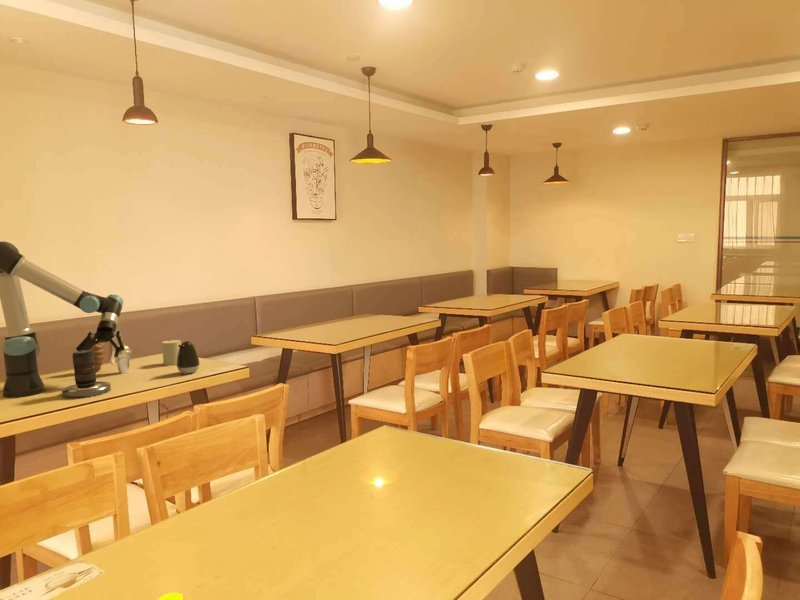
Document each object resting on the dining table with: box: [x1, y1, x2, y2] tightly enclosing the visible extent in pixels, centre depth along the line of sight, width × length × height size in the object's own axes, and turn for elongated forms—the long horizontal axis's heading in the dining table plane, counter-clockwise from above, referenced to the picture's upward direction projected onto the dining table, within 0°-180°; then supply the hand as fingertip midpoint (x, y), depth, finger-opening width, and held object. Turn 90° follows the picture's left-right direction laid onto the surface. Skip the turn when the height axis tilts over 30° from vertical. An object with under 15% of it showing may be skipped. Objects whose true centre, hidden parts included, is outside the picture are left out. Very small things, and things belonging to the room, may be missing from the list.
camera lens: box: [72, 350, 97, 388], centre depth 248 cm, size 8×8×15 cm
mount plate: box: [61, 381, 112, 399], centre depth 249 cm, size 18×18×3 cm
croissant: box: [89, 337, 106, 373], centre depth 289 cm, size 9×8×18 cm
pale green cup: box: [161, 339, 182, 366], centre depth 303 cm, size 9×9×12 cm
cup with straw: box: [115, 334, 133, 374], centre depth 285 cm, size 8×9×20 cm
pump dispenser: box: [176, 340, 200, 375], centre depth 280 cm, size 10×10×15 cm
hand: (95, 363), depth 258 cm, fingers open, 13 cm apart
